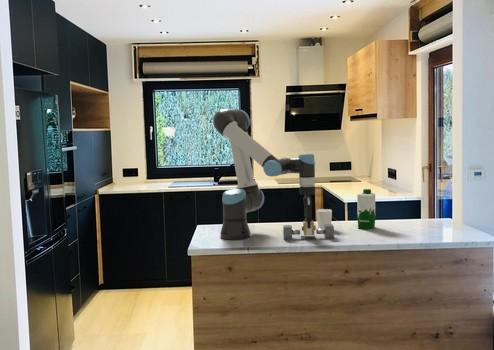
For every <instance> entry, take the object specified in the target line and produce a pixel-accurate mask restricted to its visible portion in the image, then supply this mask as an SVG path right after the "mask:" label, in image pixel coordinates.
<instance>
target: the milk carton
mask: <svg viewBox="0 0 494 350" xmlns="http://www.w3.org/2000/svg"><path fill="white" fill-rule="evenodd" d="M356 198H357V206H356V207H357V229H359V230H370V229H372V230H373V229H374V228H375V226H376V193H373V192H372V189H371V188H365V189H363V190H362V192H360V193H358V194H357V195H356Z"/></svg>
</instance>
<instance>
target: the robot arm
mask: <svg viewBox="0 0 494 350" xmlns="http://www.w3.org/2000/svg"><path fill="white" fill-rule="evenodd" d="M212 124H213V125H212V126H213V127H214V129H215V130H216V131H217V133H218V134H220V135H221V136H222V137H223V138H227V139H228V140H229V142H230V148H231V153H232V159H233V164H234V169H235V175H236V180H237V186H235V187H236V188H233V189H228V190H225V191H224V192H223V193H222V199H221V201H222V216H223V217H222V220H223V223H222V225H221V229H220V233H219V234H220V238H221V239H223V240H229V241H233V240H234V241H237V240H246V239H249V238H251V229H250V227H249V225H248V221H247V213H250V212H255V211H258V210H259V209H261V207H262V206H263V205H264V202H265V195H264V192H263V191H262V190H261V189H260V188H259V185H258V183H257V182H255V179H254V173H253V167H252V163H251V159H252V160H253V161H255V162H256V163H257V164H258V165H259V166H261V167H262V168H263V173H264V175H266V176H267V177H278V176H281V175H287V174H298V177H299V179H298V180H299V181H298V182H299V183H298V184H299V194H300V195H301V196H302V195H303V196H304V197H303V206H304V216H303V217H304V221H305V222H306V235H305V236H313V235H312V221H313V215H312V214H313V213H312V212H313V211H312V206H313V197H312V196H311V195H315V194H316V186H315V185H316V181H317V178H316V167H315V166H316V165H315V164H316V162H315V155H314V154H313V153H300V154H299V155H298V156H297V157H279V158H277V157H276V156H274V155H273V154H272V153H271V152H269V151H268V149H266V148H265V147H264V146H263V145H261V143H259V142H258V141H256V140H255V139H254V138H253V137H252V136H250V135H249V130H248V128H249V127H250V124H251V120H250V117H249V114H248V113H247V112H246V111H244V110H242V109H238V108H235V109H232V108H230V109H229V108H228V109H227V108H223V109H219V110H218V111H217V112H215V114H214V115H213V119H212Z"/></svg>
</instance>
